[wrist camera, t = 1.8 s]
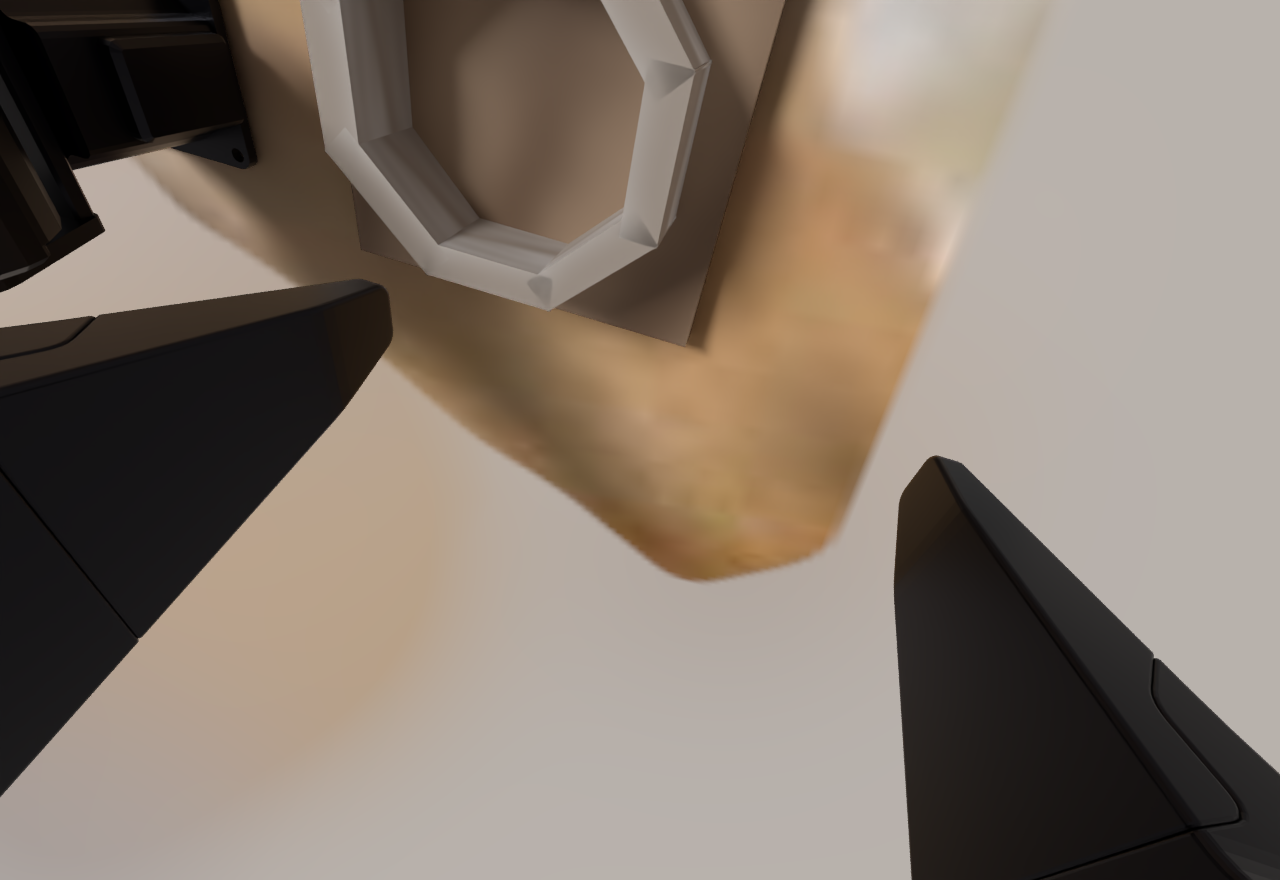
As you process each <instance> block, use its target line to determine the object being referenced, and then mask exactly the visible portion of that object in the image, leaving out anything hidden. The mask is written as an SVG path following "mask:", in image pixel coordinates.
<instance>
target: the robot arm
mask: <svg viewBox="0 0 1280 880" xmlns="http://www.w3.org/2000/svg"><path fill="white" fill-rule="evenodd" d="M167 148H173V149H176V150H180V151H183V152H186V153H190V154H193V155H197V156H200V157H203V158H207V159H210V160H214V161H217V162H220V163H224V164H227V165H231V166H234V167H237V168H241V169H247V168H250V167H253V166H255V165H256V163H257V155H256V151H255V147H254V143H253V139H252V135H251V131H250V127H249V123H248V119H247V115H246V111H245V107H244V103H243V99H242V95H241V90H240V86H239V82H238V78H237V74H236V70H235V66H234V62H233V58H232V54H231V50H230V46H229V42H228V38H227V34H226V30H225V26H224V22H223V18H222V14H221V10H220V6H219V2H218V0H0V292H3V291H6V290H9V289H11V288H13V287H15V286H17V285H19V284H21V283H22V282H24V281H25V280H27V279H29V278H30V277H32V276H34V275H35V274H37V273H38V272H40V271H42V270H43V269H45V268H47V267H48V266H50V265H51V264H53V263H55V262H56V261H58V260H60V259H61V258H63V257H64V256H66V255H68V254H69V253H71V252H72V251H74V250H76V249H77V248H79V247H80V246H82V245H84V244H85V243H87V242H88V241H90V240H92V239H94V238H95V237H97V236H98V235H100V234H101V233H103V232H104V231H105V229H104V227H103V225H102V223H101V221H100V219H99V216H98V215H97V214H95V213H93V211H92V210H91V208H90V205H89V203H88V201H87V199H86V197H85V195H84V193H83V191H82V189H81V187H80V185H79V183H78V181H77V179H76V177H75V175H74V173H73V171H72V170H75V169H80V168H84V167H89V166H92V165H97V164H102V163H106V162H110V161H115V160H119V159H123V158H128V157H132V156H137V155H141V154H145V153H150V152H154V151H158V150H163V149H167ZM240 152H241V153H242V155H243V156H242V155H241V153H240ZM243 157H244V158H243ZM392 337H393V325H392V317H391V308H390V300H389V294H388V292H387V290H386V288H385V287H384V286H382V285H380V284H377V283H373V282H370V281H367V280H363V279H353V280H346V281H339V282H332V283H325V284H317V285H310V286H303V287H296V288H289V289H282V290H274V291H268V292H260V293H254V294H246V295H239V296H231V297H224V298H217V299H210V300H203V301H196V302H188V303H182V304H174V305H168V306H160V307H153V308H146V309H138V310H132V311H124V312H117V313H110V314H102V315H99V316H98V317H96V318H95V317H93V316H87V317H80V318H73V319H66V320H59V321H51V322H43V323H35V324H28V325H20V326H12V327H4V328H0V797H1V796H2V795H3V794H4V792H5V791H6V790H7V789H8V788H9V787H10V786H11V785H12V783H13V782H14V781H15V780H16V779H17V778H18V777H19V776H20V774H21V773H22V772H23V771H24V770H25V769H26V768H27V767H28V765H29V764H30V763H31V762H32V761H33V760H34V759H35V757H36V756H37V755H38V754H39V753H40V752H41V751H42V750H43V749H44V747H45V746H46V745H47V744H48V743H49V741H51V740H52V738H53V737H54V736H55V735H56V734H57V733H58V732H59V730H60V729H61V728H62V727H63V726H64V725H65V724H66V723H67V721H68V720H69V719H70V718H71V717H72V716H73V715H74V714H75V712H76V711H77V710H78V709H79V708H80V707H81V706H82V705H83V703H84V702H85V701H86V700H87V699H88V698H89V697H90V696H91V694H92V693H93V692H94V691H95V690H96V689H97V688H98V687H99V685H100V684H101V683H102V682H103V681H104V680H105V679H106V678H107V676H108V675H109V674H110V673H111V672H112V671H113V670H114V669H115V667H116V666H117V665H118V664H119V663H120V662H121V661H122V660H123V658H124V657H125V656H126V655H127V654H128V653H129V652H130V651H131V649H132V648H133V647H134V646H135V645H136V644H137V643H138V638H141V637H143V635H144V634H145V633H146V632H147V631H148V630H149V628H151V626H152V625H153V624H154V623H155V622H156V621H157V620H158V619H159V617H160V616H161V615H162V614H163V613H164V612H165V611H166V609H167V608H168V607H169V606H170V605H171V604H172V603H173V602H174V601H175V599H176V598H177V597H178V596H179V595H180V594H181V593H182V592H183V590H184V589H185V588H186V587H187V586H188V585H189V584H190V583H191V581H192V580H193V579H194V578H195V577H196V576H197V575H198V574H199V572H200V571H201V570H202V569H203V568H204V567H205V566H206V565H207V563H208V562H209V561H210V560H211V559H212V558H213V557H214V555H215V554H216V553H217V552H218V551H219V550H220V549H221V548H222V547H223V545H224V544H225V543H226V542H227V541H228V540H229V539H230V538H231V537H232V535H233V534H234V533H235V532H236V531H237V530H238V529H239V527H240V526H241V525H242V524H243V523H244V522H245V521H246V520H247V518H248V517H249V516H250V515H251V514H252V513H253V512H254V511H255V509H256V508H257V507H258V506H259V505H260V504H261V503H262V502H263V501H264V499H265V498H266V497H267V496H268V495H269V494H270V493H271V492H272V490H273V489H274V488H275V487H276V486H277V485H278V484H279V483H280V481H281V480H282V479H283V478H284V477H285V476H286V475H287V474H288V472H289V471H290V470H291V469H292V468H293V467H294V466H295V465H296V463H297V462H298V461H299V460H300V459H301V458H302V457H303V456H304V454H305V453H306V452H307V451H308V450H309V449H310V448H311V447H312V445H313V444H314V443H315V442H316V441H317V440H318V439H319V438H320V436H321V435H322V434H323V433H324V432H325V431H326V430H327V428H328V427H329V426H330V425H331V424H332V423H333V422H334V421H335V420H336V418H337V417H338V416H339V415H340V414H341V412H342V411H343V410H344V409H345V407H346V406H347V405H348V403H349V402H350V401H351V399H352V398H353V397H354V395H355V394H356V392H357V391H358V389H359V388H360V387H361V385H362V384H363V382H364V381H365V379H366V378H367V376H368V375H369V374H370V372H371V370H372V369H373V368H374V366H375V365H376V363H377V362H378V361H379V359H380V358H381V356H382V355H383V354H384V352H385V351H386V349H387V348H388V346H389V345H390V343H391V340H392ZM894 604H895V620H896V636H897V652H898V669H899V685H900V699H901V700H900V701H901V714H902V715H901V717H902V732H903V748H904V765H905V781H906V797H907V812H908V828H909V845H910V861H911V876H912V880H1280V774H1279V773H1278V772H1277V771H1276V770H1275V769H1274V768H1273V767H1272V766H1270V765H1269V764H1268V763H1267V762H1266V761H1265V760H1264V759H1263V758H1262V757H1261V756H1260V755H1259V754H1258V753H1256V752H1255V751H1254V750H1253V749H1252V748H1251V747H1250V746H1249V745H1248V744H1246V742H1244V741H1243V740H1242V739H1241V738H1240V737H1239V736H1238V735H1237V734H1236V733H1235V732H1234V731H1233V730H1231V729H1230V728H1229V727H1228V726H1227V725H1226V724H1225V723H1224V722H1223V721H1222V720H1221V719H1220V718H1219V717H1218V716H1217V715H1216V714H1215V713H1214V712H1213V711H1212V710H1211V709H1210V708H1209V707H1208V706H1207V705H1206V704H1205V703H1204V702H1203V701H1201V700H1200V699H1199V698H1198V697H1197V696H1196V695H1195V694H1194V693H1193V692H1192V691H1191V690H1190V689H1189V688H1188V687H1187V686H1186V685H1185V684H1184V683H1183V682H1182V681H1181V680H1180V679H1179V678H1178V677H1177V676H1176V675H1175V674H1174V673H1173V672H1172V671H1171V670H1170V669H1169V668H1168V667H1167V666H1166V665H1165V664H1164V663H1163V662H1162V661H1161V660H1159V659H1157V658H1153V657H1154V655H1153V653H1152V652H1151V650H1150V649H1149V648H1148V647H1146V646H1145V645H1144V644H1143V643H1142V642H1141V641H1140V640H1139V639H1138V638H1137V637H1136V636H1135V635H1134V634H1133V633H1132V632H1131V631H1130V630H1129V629H1128V628H1127V627H1126V626H1125V625H1124V624H1123V623H1122V622H1121V621H1120V620H1119V619H1118V618H1117V617H1116V616H1115V615H1114V614H1113V613H1112V612H1111V611H1110V610H1109V609H1108V608H1107V607H1106V606H1105V605H1104V604H1103V603H1102V602H1101V601H1100V600H1099V599H1098V598H1097V597H1096V596H1095V595H1094V594H1093V593H1092V592H1091V591H1090V590H1089V589H1088V588H1087V587H1086V586H1085V585H1084V584H1083V583H1082V582H1081V581H1080V580H1079V579H1078V578H1077V577H1076V576H1075V575H1074V574H1073V573H1072V572H1071V571H1070V570H1069V569H1068V568H1067V567H1066V566H1065V565H1064V564H1063V563H1062V562H1061V561H1060V560H1058V558H1057V557H1056V556H1055V555H1054V554H1053V553H1052V552H1051V551H1050V550H1049V549H1048V548H1047V547H1046V546H1045V545H1043V543H1042V542H1041V541H1039V539H1038V538H1036V536H1035V535H1034V534H1033V533H1032V532H1030V531H1029V530H1028V529H1027V528H1026V527H1025V526H1024V525H1023V524H1022V523H1021V522H1020V521H1019V520H1018V519H1017V518H1016V517H1015V516H1014V515H1013V514H1012V513H1011V512H1010V511H1009V510H1008V509H1007V508H1006V507H1005V506H1004V505H1003V504H1002V503H1001V502H1000V501H999V500H998V499H997V498H996V497H995V496H994V495H993V494H992V493H991V492H990V491H989V490H988V489H987V488H986V487H985V486H984V485H983V484H982V483H981V482H980V481H979V480H978V479H977V478H976V477H975V476H974V475H973V474H972V473H971V472H970V471H969V470H968V469H967V468H966V467H965V466H964V465H963V464H962V463H959V462H957V461H954V460H951V459H947V458H944V457H941V456H932V457H930V458H929V459H927V461H926V462H925V463H924V464H923V466H922V467H921V468H920V469H919V471H918V472H917V474H916V475H915V476H914V477H913V479H912V480H911V482H910V483H909V484H908V486H907V487H906V488H905V490H904V491H903V493H902V495H901V498H900V502H899V512H898V525H897V540H896V556H895V571H894Z"/></svg>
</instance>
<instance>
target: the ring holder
mask: <svg viewBox="0 0 1280 880" xmlns="http://www.w3.org/2000/svg"><path fill="white" fill-rule="evenodd" d="M785 2H786V0H300V4H301V10H302V16H303V22H304V28H305V34H306V39H307V45H308V51H309V57H310V63H311V69H312V75H313V80H314V86H315V92H316V98H317V104H318V110H319V116H320V121H321V127H322V133H323V139H324V145H325V151H326V153H327V154H328V155H329V156H330V157H331V158H332V160H333V161H334V162H335V163H336V165H337V166H338V167H339V168H340V169H341V171H342V172H343V173H344V174H345V176H346V177H347V178H348V179H349V180H350V182H351V185H352V192H353V198H354V205H355V212H356V219H357V225H358V232H359V239H360V246H361V250H364V251H367V252H370V253H374V254H377V255H380V256H384V257H387V258H390V259H394V260H397V261H400V262H404V263H407V264H410V265H414V266H417V267H420V268H422V269H423V271H424V272H425V274H427V275H430V276H434V277H437V278H440V279H444V280H447V281H450V282H454V283H457V284H460V285H463V286H467V287H470V288H473V289H477V290H480V291H483V292H487V293H490V294H493V295H497V296H500V297H503V298H507V299H510V300H513V301H517V302H520V303H523V304H527V305H530V306H533V307H537V308H540V309H543V310H547V311H551V310H552V309H553V308H557V309H560V310H563V311H567V312H570V313H573V314H577V315H580V316H583V317H587V318H590V319H593V320H597V321H600V322H603V323H607V324H610V325H613V326H617V327H620V328H623V329H627V330H630V331H633V332H637V333H640V334H643V335H647V336H650V337H653V338H656V339H660V340H663V341H666V342H670V343H673V344H676V345H680V346H683V347H685V346H686V344H687V341H688V338H689V336H690V332H691V329H692V325H693V322H694V318H695V315H696V311H697V308H698V304H699V301H700V297H701V294H702V290H703V287H704V283H705V280H706V277H707V273H708V270H709V266H710V263H711V259H712V256H713V252H714V249H715V245H716V242H717V238H718V235H719V231H720V228H721V225H722V221H723V218H724V214H725V211H726V207H727V204H728V200H729V197H730V193H731V190H732V186H733V183H734V179H735V176H736V172H737V169H738V166H739V162H740V159H741V155H742V152H743V148H744V145H745V141H746V138H747V134H748V131H749V127H750V124H751V120H752V117H753V114H754V110H755V107H756V103H757V100H758V96H759V93H760V89H761V86H762V82H763V79H764V75H765V72H766V68H767V65H768V61H769V58H770V55H771V51H772V48H773V44H774V41H775V37H776V34H777V30H778V27H779V23H780V20H781V16H782V13H783V9H784V6H785Z"/></svg>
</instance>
